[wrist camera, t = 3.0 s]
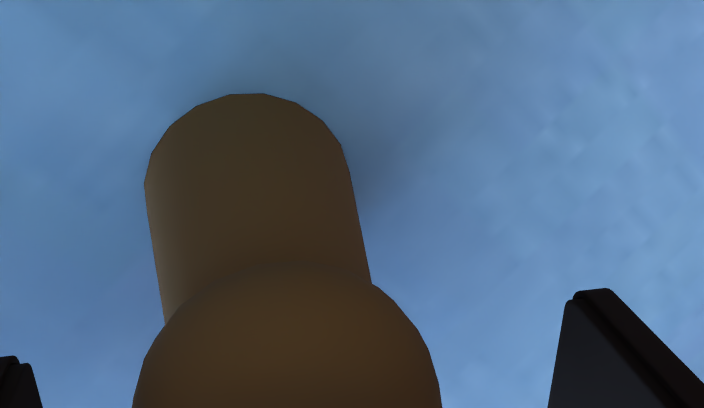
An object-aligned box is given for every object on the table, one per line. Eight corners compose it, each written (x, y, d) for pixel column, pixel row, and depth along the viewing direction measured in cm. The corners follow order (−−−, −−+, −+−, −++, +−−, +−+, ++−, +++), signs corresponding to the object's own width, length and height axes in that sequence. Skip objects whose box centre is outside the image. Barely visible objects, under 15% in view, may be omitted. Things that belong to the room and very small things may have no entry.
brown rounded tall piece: (99, 157, 18) (-13, 467, 8) (293, 53, 18) (408, 245, 8) (213, 311, 21) (228, 675, 11) (381, 222, 21) (542, 512, 11)
